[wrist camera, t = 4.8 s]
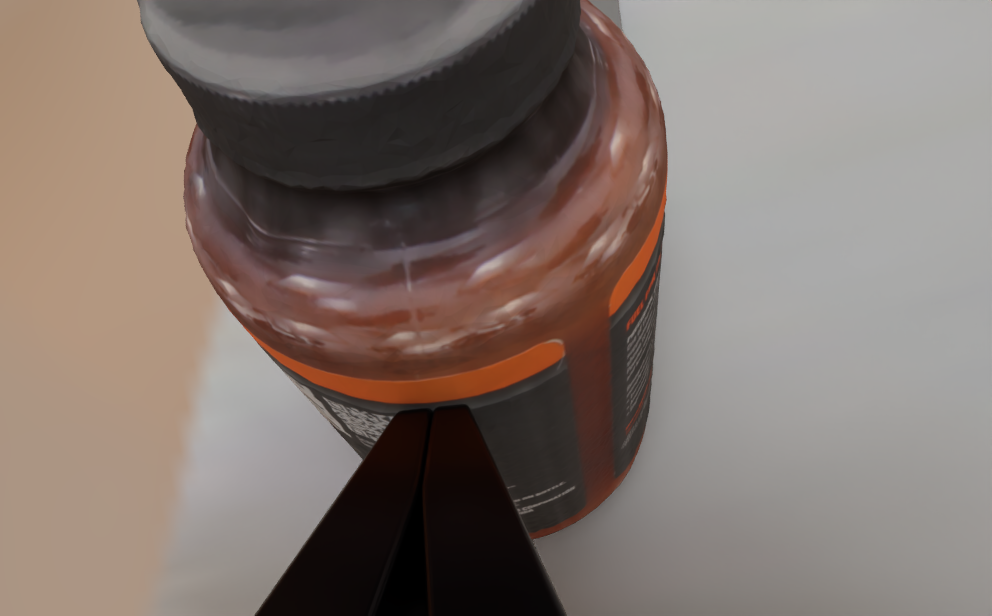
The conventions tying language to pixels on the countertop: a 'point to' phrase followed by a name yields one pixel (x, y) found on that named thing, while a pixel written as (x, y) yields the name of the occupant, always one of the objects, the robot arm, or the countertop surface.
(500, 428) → the supplement bottle
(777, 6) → the countertop surface
